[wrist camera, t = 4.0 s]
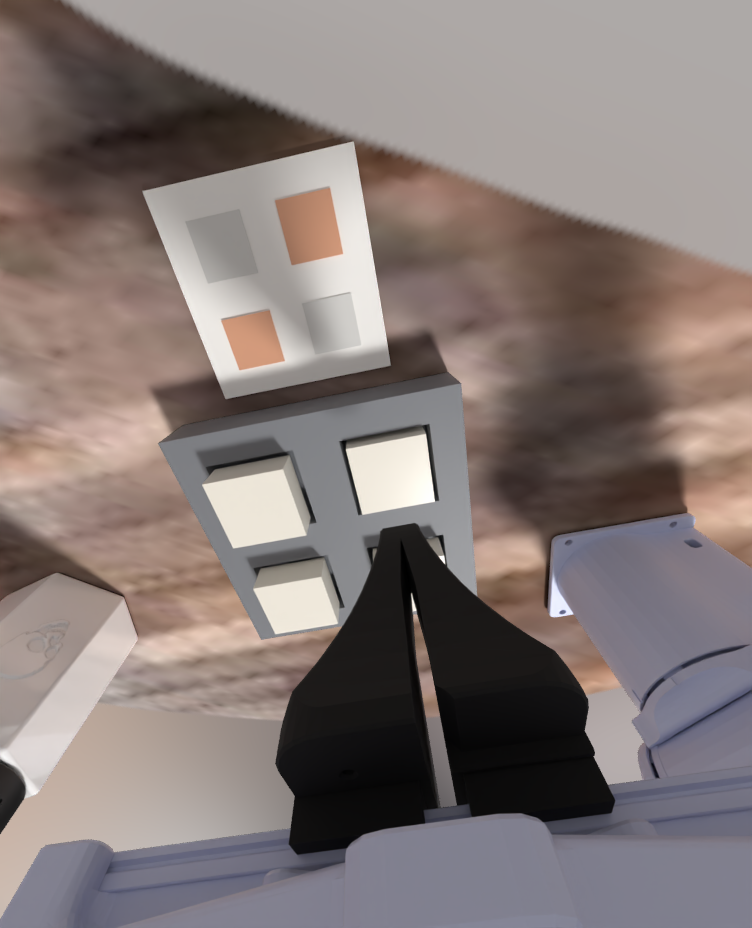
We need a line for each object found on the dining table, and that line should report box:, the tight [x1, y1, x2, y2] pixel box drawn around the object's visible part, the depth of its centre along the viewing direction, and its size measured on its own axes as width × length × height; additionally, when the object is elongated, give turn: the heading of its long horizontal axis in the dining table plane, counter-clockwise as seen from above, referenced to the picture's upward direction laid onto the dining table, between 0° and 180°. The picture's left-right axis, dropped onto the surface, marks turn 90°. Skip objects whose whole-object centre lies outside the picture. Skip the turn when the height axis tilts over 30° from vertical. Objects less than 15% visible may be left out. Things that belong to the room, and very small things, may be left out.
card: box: [142, 141, 391, 399], centre depth 16 cm, size 9×9×1 cm
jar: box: [0, 573, 138, 834], centre depth 20 cm, size 9×8×12 cm
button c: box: [202, 455, 311, 549], centre depth 18 cm, size 4×4×2 cm
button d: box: [253, 557, 340, 634], centre depth 21 cm, size 4×4×2 cm
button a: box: [346, 425, 435, 515], centre depth 18 cm, size 4×4×2 cm
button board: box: [158, 372, 477, 640], centre depth 21 cm, size 15×15×3 cm
